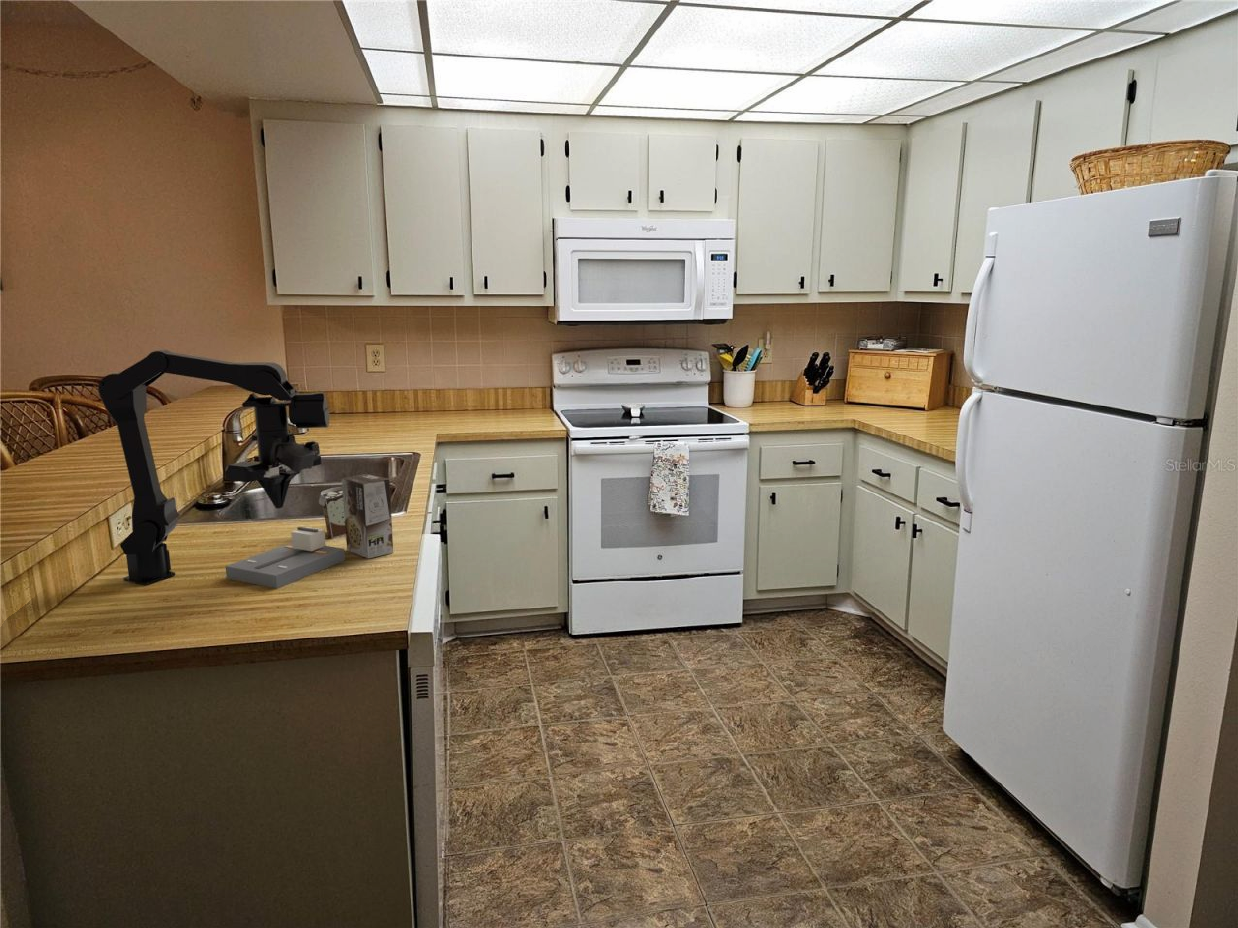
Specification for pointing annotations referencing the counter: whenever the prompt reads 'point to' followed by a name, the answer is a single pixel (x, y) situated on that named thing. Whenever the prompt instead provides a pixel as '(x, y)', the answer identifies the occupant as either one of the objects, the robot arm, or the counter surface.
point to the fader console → (283, 565)
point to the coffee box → (367, 515)
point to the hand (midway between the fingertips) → (279, 507)
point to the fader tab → (308, 538)
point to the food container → (333, 511)
